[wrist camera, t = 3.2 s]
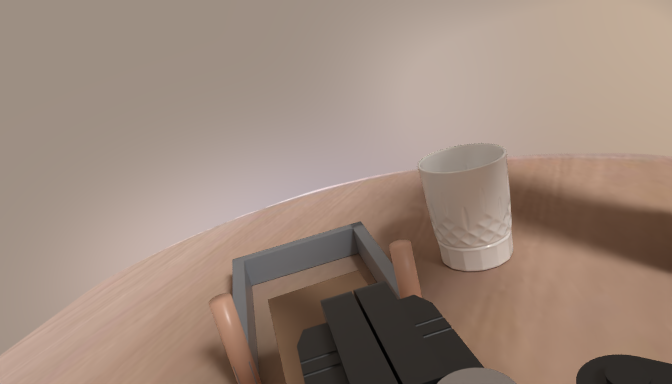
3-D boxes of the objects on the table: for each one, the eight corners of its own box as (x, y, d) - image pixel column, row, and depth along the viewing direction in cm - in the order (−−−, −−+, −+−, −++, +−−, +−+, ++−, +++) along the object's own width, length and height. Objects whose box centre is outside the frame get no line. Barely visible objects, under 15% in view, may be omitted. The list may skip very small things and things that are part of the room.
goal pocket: (368, 245, 57) (352, 178, 54) (433, 339, 38) (414, 245, 36) (238, 284, 55) (216, 217, 52) (242, 403, 37) (208, 308, 34)
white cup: (452, 284, 45) (433, 179, 42) (425, 249, 52) (407, 158, 49) (535, 260, 45) (523, 155, 42) (496, 229, 53) (483, 138, 50)
